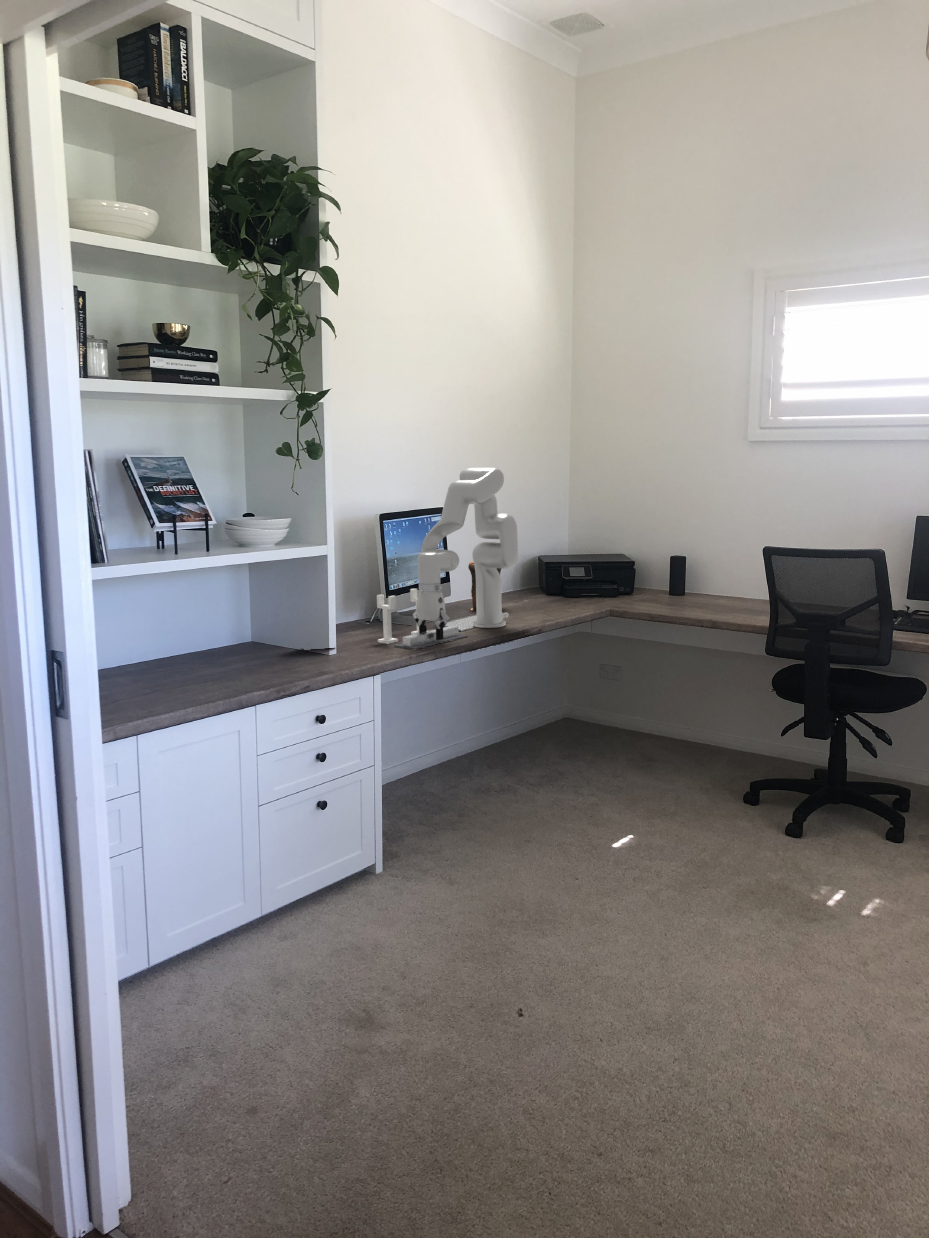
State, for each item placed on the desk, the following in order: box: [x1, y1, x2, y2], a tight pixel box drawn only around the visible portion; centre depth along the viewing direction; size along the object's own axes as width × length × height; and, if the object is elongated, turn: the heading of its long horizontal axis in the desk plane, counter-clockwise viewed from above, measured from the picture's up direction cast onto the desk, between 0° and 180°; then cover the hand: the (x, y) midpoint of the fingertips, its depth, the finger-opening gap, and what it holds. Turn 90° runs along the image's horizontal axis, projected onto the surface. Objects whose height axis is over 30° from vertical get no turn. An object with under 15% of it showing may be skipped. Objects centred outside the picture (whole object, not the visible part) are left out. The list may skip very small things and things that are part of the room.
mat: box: [393, 634, 468, 650], centre depth 332 cm, size 27×10×1 cm, turn 140°
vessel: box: [467, 561, 502, 613], centre depth 397 cm, size 14×14×20 cm
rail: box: [402, 625, 460, 647], centre depth 332 cm, size 25×4×3 cm, turn 140°
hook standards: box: [376, 588, 419, 645], centre depth 339 cm, size 22×7×16 cm, turn 140°
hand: (431, 637), depth 332 cm, fingers open, 7 cm apart
